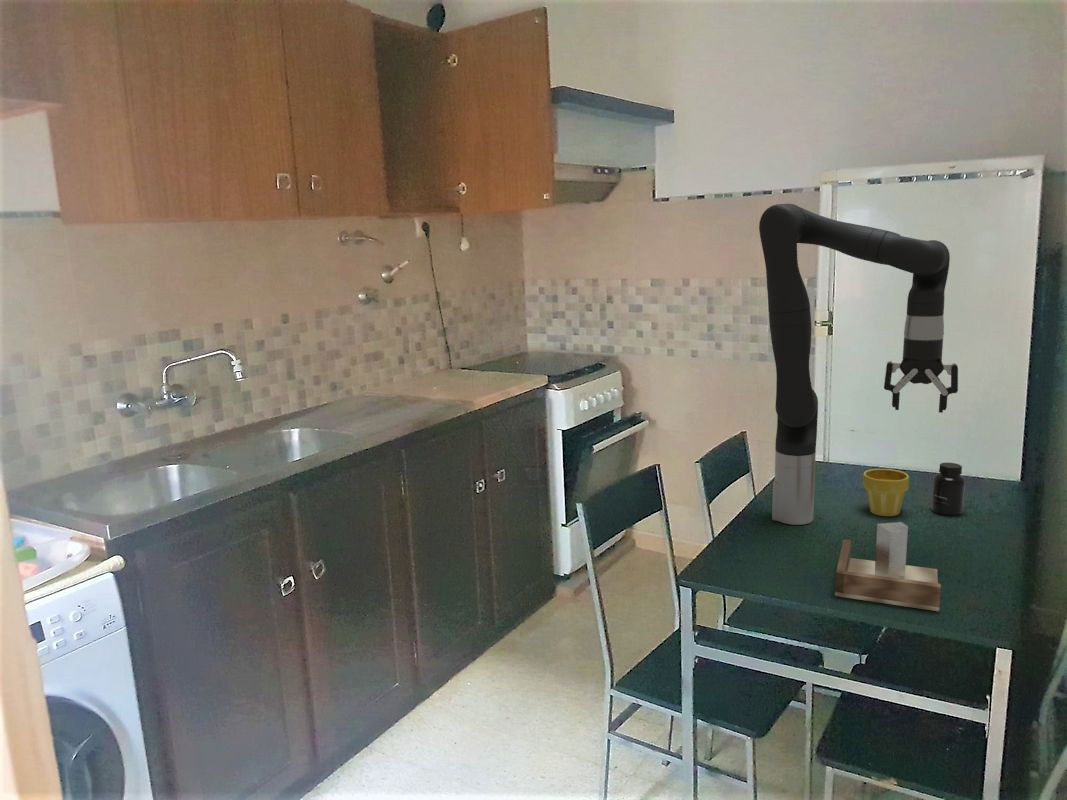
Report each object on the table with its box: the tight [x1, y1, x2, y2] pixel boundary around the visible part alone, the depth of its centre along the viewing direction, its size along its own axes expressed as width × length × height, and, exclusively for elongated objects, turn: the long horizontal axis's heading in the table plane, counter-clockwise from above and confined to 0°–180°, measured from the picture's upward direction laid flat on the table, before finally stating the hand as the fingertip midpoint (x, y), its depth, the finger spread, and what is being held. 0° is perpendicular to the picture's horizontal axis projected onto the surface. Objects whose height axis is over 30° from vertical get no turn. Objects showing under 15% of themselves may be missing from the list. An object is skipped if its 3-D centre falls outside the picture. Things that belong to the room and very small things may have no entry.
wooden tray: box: [834, 538, 942, 612], centre depth 158 cm, size 18×18×5 cm
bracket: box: [874, 521, 909, 579], centre depth 157 cm, size 5×5×11 cm
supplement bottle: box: [931, 462, 966, 517], centre depth 194 cm, size 7×7×12 cm
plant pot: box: [862, 468, 910, 517], centre depth 196 cm, size 10×10×10 cm
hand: (918, 410), depth 172 cm, fingers open, 8 cm apart
